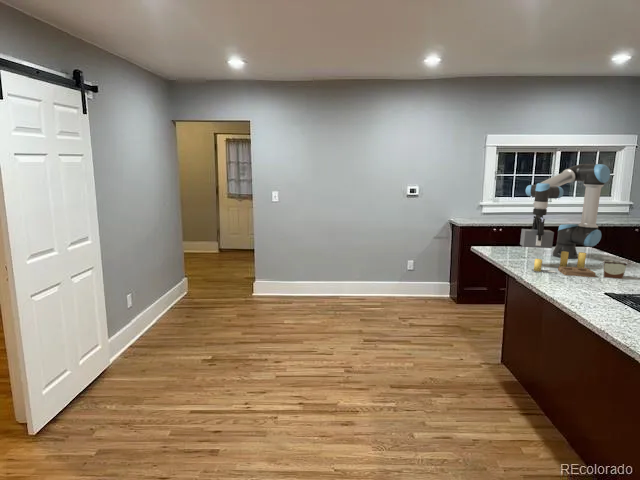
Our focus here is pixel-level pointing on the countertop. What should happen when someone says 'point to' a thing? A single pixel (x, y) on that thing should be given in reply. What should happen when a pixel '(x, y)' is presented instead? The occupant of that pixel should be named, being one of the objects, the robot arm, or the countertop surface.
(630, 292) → the countertop surface
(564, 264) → the peg
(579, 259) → the peg
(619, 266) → the food container
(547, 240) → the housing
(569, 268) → the socket board
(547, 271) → the grey and yellow fixture
